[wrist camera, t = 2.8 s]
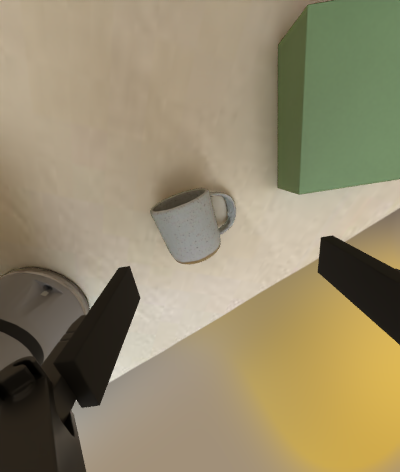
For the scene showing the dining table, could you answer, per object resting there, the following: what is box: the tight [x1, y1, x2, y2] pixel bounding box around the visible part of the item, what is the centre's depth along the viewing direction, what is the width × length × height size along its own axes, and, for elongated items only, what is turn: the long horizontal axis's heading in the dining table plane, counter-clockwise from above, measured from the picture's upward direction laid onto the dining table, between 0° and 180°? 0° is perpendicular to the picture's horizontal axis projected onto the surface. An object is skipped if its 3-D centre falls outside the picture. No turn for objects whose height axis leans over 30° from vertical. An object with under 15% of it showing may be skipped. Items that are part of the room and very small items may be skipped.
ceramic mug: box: [150, 188, 236, 264], centre depth 25 cm, size 11×8×8 cm
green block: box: [278, 0, 400, 195], centre depth 21 cm, size 14×16×6 cm
